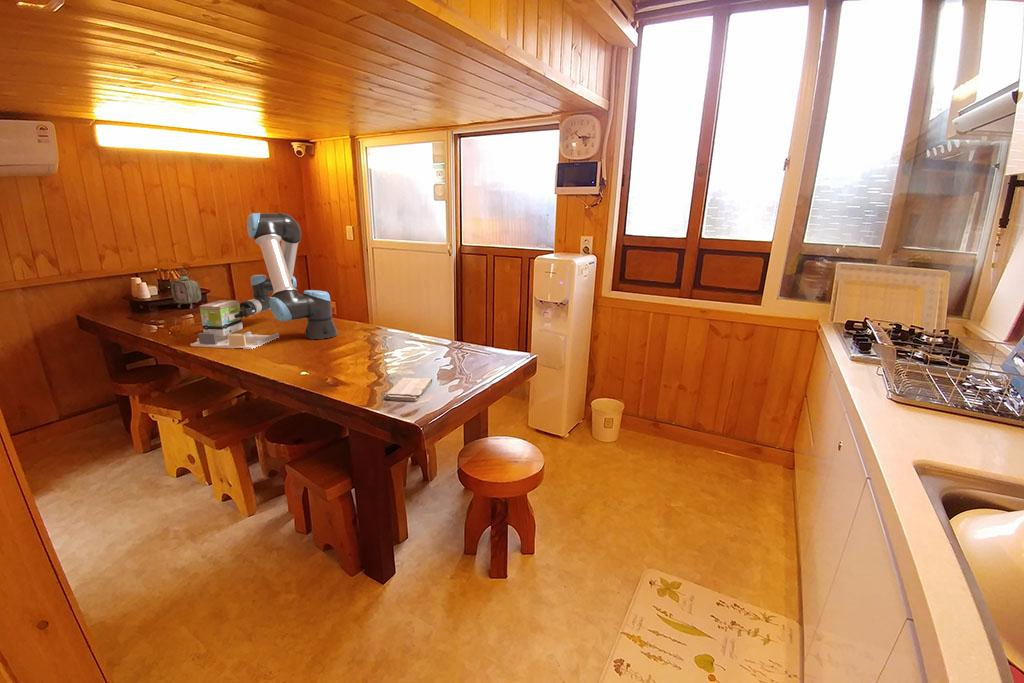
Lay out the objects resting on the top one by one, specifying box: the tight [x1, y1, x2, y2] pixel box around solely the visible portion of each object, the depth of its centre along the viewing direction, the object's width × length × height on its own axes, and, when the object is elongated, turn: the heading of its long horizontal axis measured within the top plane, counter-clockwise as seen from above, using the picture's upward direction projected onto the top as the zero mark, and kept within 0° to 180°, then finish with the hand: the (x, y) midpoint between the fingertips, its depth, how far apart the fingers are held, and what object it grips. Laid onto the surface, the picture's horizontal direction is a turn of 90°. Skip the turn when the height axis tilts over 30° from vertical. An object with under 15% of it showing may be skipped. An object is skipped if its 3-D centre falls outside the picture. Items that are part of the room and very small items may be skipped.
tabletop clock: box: [169, 268, 202, 310], centre depth 282 cm, size 14×9×25 cm, turn 72°
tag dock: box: [190, 331, 280, 350], centre depth 214 cm, size 31×20×6 cm, turn 83°
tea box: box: [199, 299, 243, 336], centre depth 215 cm, size 15×10×15 cm
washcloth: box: [385, 377, 433, 402], centre depth 159 cm, size 12×18×3 cm, turn 174°
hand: (218, 317), depth 212 cm, fingers closed on tea box, 10 cm apart
